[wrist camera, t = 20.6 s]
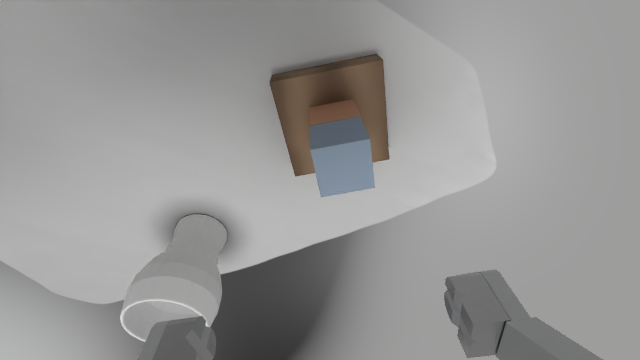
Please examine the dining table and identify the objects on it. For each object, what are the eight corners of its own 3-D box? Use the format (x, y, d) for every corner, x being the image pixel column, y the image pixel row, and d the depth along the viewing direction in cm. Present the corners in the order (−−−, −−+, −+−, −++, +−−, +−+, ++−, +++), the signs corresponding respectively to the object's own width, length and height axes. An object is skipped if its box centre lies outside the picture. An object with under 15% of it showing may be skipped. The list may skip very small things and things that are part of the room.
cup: (249, 226, 46) (229, 316, 34) (217, 265, 51) (189, 357, 38) (183, 194, 42) (133, 283, 30) (155, 239, 47) (101, 332, 34)
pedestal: (295, 164, 40) (295, 176, 38) (272, 75, 34) (269, 82, 31) (383, 148, 40) (389, 159, 37) (376, 54, 33) (382, 59, 31)
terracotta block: (317, 146, 36) (319, 168, 32) (308, 107, 33) (309, 125, 29) (358, 139, 36) (365, 160, 31) (353, 98, 33) (360, 115, 29)
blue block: (318, 169, 32) (321, 197, 28) (309, 126, 29) (310, 150, 25) (365, 160, 31) (374, 187, 27) (360, 116, 29) (370, 138, 24)
